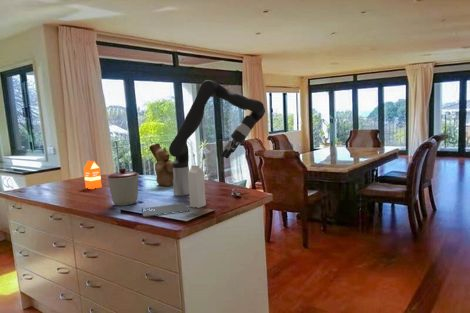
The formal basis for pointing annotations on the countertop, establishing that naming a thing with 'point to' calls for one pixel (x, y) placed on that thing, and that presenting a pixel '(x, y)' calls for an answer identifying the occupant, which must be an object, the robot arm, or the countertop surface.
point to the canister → (123, 187)
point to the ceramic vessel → (162, 165)
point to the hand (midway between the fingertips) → (223, 157)
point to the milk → (196, 187)
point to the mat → (165, 209)
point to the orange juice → (92, 175)
